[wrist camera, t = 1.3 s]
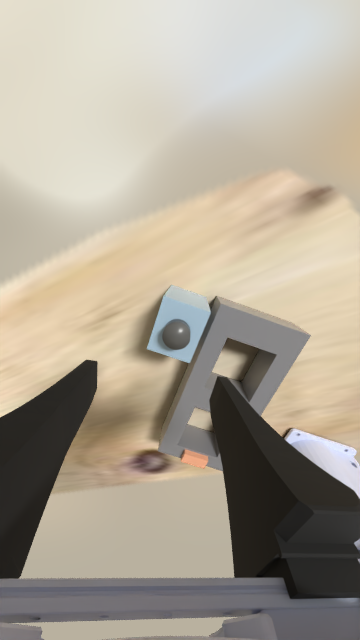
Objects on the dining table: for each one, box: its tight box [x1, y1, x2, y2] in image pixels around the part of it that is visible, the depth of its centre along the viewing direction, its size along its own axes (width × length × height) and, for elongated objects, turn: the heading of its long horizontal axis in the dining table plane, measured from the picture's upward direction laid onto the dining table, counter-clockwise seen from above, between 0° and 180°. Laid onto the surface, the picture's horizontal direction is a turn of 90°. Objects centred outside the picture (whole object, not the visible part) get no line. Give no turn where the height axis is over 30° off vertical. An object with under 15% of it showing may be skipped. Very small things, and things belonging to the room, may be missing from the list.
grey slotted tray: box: [158, 296, 311, 471], centre depth 22 cm, size 9×20×4 cm, turn 161°
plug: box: [147, 285, 211, 363], centre depth 19 cm, size 4×5×7 cm
